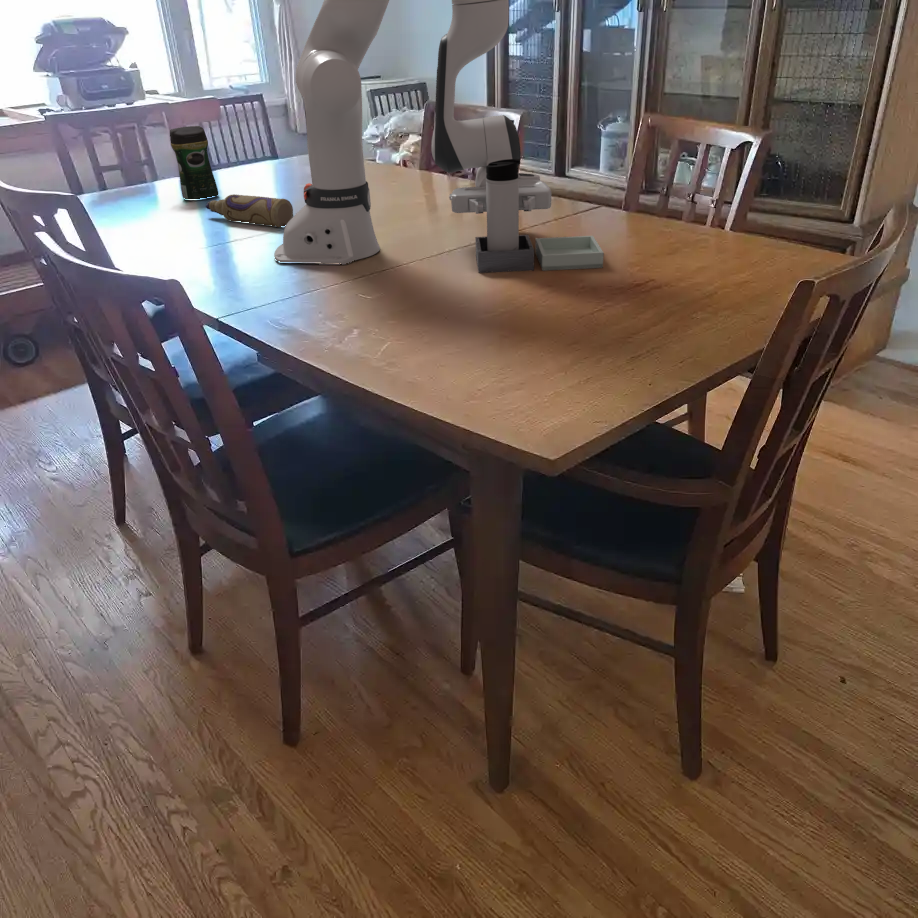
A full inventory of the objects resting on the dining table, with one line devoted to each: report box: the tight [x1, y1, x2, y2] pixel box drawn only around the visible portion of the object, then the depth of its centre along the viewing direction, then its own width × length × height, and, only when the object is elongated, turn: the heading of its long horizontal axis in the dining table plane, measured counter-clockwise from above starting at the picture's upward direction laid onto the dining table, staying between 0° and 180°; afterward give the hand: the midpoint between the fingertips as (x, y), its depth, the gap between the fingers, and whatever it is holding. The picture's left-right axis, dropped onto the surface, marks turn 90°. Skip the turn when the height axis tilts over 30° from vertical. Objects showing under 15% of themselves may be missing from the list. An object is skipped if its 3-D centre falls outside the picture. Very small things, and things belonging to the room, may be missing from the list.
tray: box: [534, 235, 604, 272], centre depth 160 cm, size 12×12×3 cm
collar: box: [474, 234, 535, 274], centre depth 160 cm, size 11×11×4 cm
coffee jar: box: [169, 125, 220, 200], centre depth 216 cm, size 10×8×19 cm
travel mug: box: [486, 158, 522, 251], centre depth 155 cm, size 6×7×20 cm
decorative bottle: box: [205, 194, 294, 228], centre depth 195 cm, size 26×8×7 cm, turn 59°
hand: (503, 208), depth 154 cm, fingers open, 8 cm apart
